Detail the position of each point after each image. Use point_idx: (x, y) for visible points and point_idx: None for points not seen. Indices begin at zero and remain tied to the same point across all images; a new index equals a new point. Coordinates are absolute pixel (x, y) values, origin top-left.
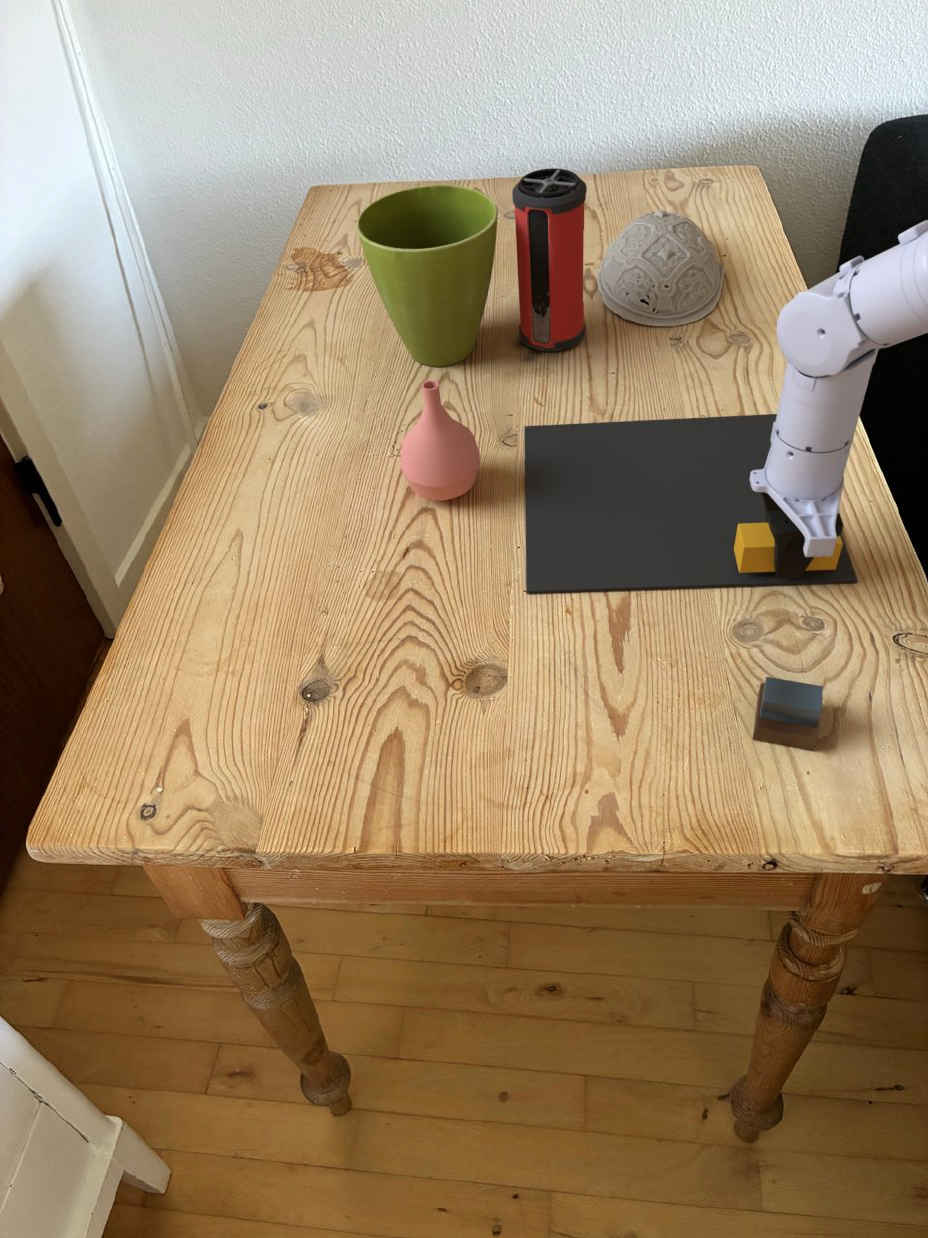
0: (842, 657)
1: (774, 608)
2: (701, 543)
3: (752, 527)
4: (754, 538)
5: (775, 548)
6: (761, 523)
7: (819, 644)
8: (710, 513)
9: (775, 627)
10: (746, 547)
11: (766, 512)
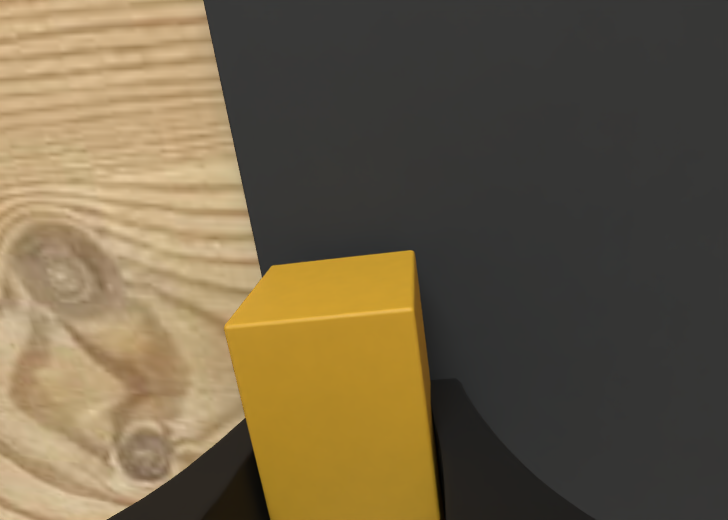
0: (39, 507)
1: (184, 359)
2: (484, 109)
3: (385, 376)
4: (300, 379)
5: (211, 471)
6: (418, 420)
7: (69, 461)
8: (697, 150)
9: (103, 355)
10: (227, 338)
11: (459, 470)
